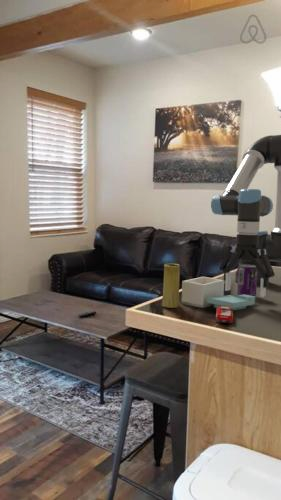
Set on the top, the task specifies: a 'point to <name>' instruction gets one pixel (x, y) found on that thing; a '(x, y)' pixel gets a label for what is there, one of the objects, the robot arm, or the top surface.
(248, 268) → the beverage can
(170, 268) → the vase
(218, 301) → the block
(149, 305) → the top surface
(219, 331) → the top surface
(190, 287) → the tub
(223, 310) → the race car
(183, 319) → the top surface
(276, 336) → the top surface
